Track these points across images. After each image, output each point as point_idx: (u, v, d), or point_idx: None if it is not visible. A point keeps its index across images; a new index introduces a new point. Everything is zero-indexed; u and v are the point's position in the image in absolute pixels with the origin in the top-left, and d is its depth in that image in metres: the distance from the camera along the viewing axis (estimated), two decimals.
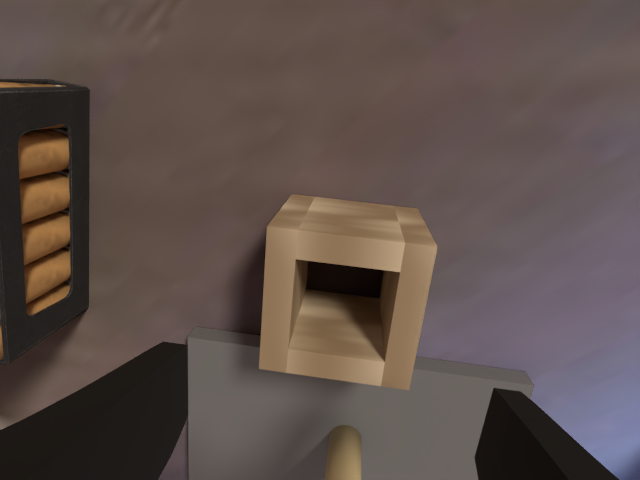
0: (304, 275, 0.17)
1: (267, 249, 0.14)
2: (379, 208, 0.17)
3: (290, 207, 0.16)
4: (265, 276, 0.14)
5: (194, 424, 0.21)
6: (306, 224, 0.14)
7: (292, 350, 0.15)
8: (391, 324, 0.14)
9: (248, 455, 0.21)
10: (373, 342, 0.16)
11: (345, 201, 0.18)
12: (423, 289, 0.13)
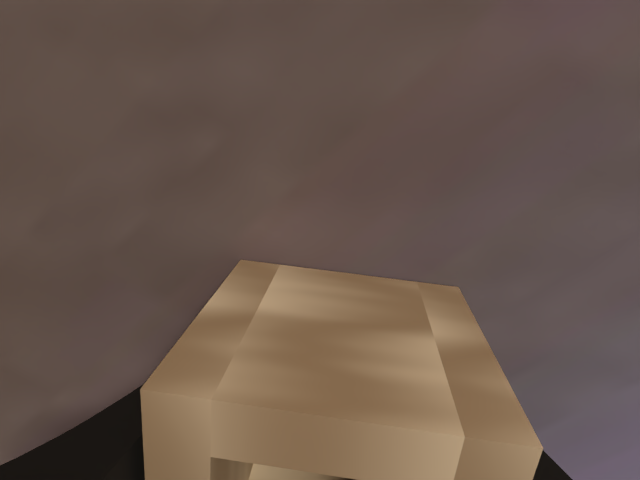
0: None
1: (146, 436, 0.06)
2: (393, 292, 0.09)
3: (224, 302, 0.08)
4: None
5: None
6: (239, 369, 0.06)
7: None
8: None
9: None
10: None
11: (332, 274, 0.10)
12: None
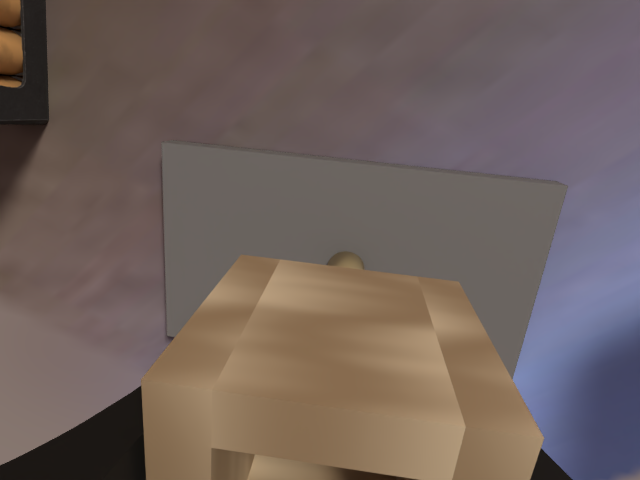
0: None
1: (147, 427, 0.06)
2: (393, 286, 0.09)
3: (224, 295, 0.08)
4: (150, 478, 0.06)
5: (171, 259, 0.18)
6: (240, 360, 0.06)
7: None
8: None
9: None
10: None
11: (333, 269, 0.10)
12: None
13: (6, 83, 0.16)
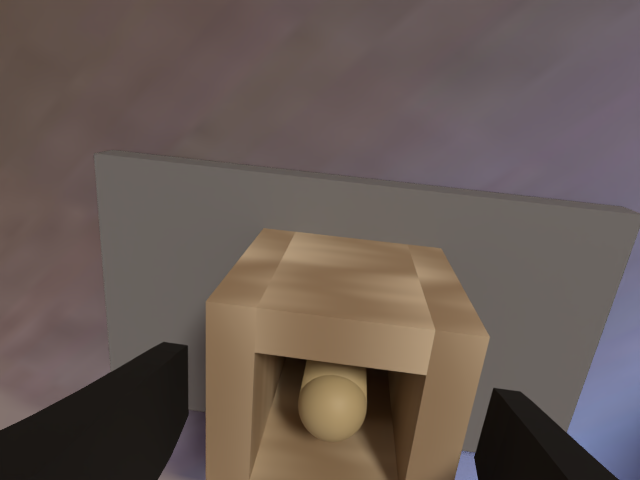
0: None
1: (208, 337, 0.08)
2: (387, 250, 0.12)
3: (255, 255, 0.11)
4: (208, 378, 0.09)
5: (114, 304, 0.14)
6: (273, 292, 0.09)
7: None
8: (411, 451, 0.09)
9: (196, 353, 0.14)
10: (381, 459, 0.10)
11: (338, 238, 0.12)
12: (465, 401, 0.08)
13: None
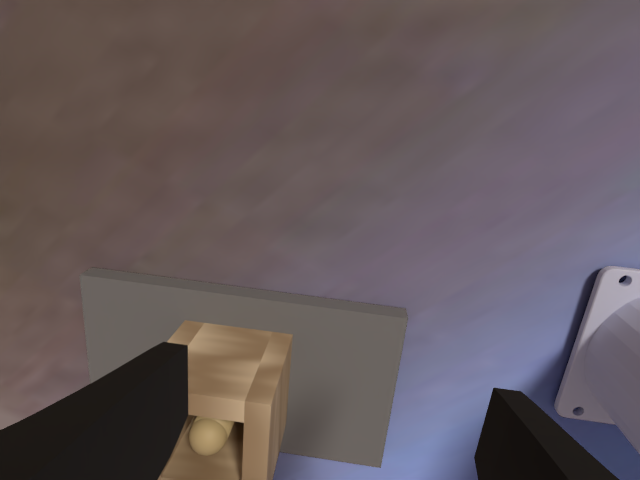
0: None
1: None
2: (255, 338, 0.19)
3: None
4: None
5: (93, 363, 0.22)
6: None
7: (164, 478, 0.17)
8: (243, 461, 0.16)
9: None
10: (240, 464, 0.18)
11: (229, 328, 0.20)
12: (265, 436, 0.16)
13: None
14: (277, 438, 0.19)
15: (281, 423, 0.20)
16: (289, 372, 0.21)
